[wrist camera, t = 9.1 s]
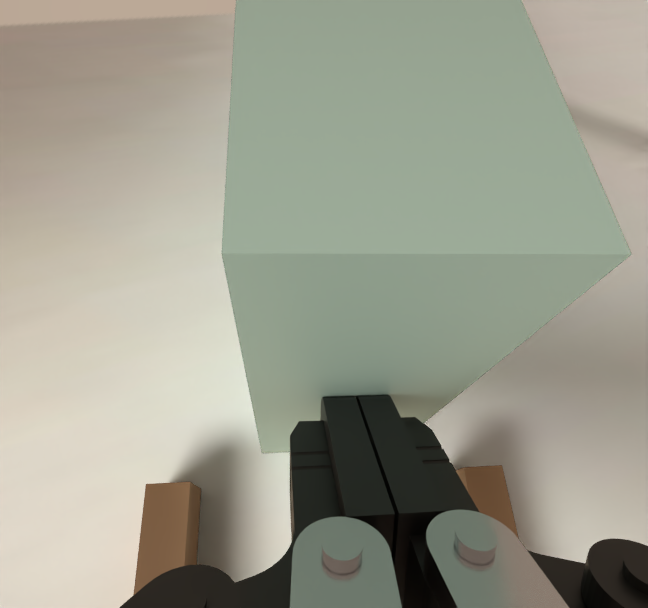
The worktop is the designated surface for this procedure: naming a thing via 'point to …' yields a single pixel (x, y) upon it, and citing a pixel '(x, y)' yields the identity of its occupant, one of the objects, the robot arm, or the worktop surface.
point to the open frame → (184, 509)
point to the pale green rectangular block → (398, 201)
